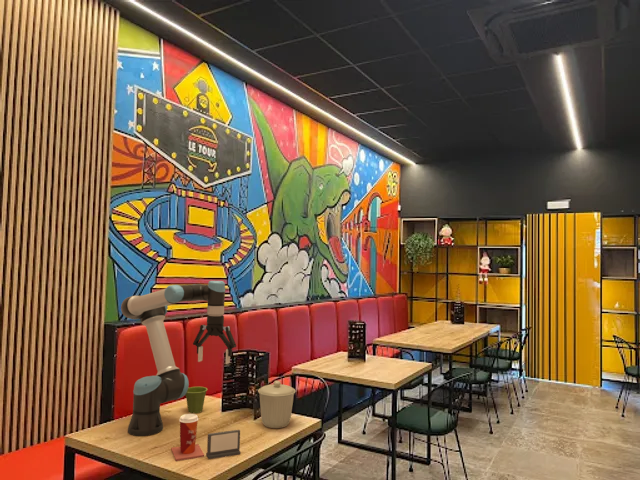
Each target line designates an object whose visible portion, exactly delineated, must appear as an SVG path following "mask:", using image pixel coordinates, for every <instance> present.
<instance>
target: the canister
mask: <svg viewBox="0 0 640 480" xmlns="http://www.w3.org/2000/svg"><path fill="white" fill-rule="evenodd" d="M257 392H258V394H259V405H260V407H259V408H260V417H261V422H262V424H263V426H265V427H266V428H270V429H282V428H284V427H287V426H289V424H290V422H291V416H292V411H293V403H294V395H295V393H296V389H295V388H294V387H292V386H290V385H287V384H282V382H281V381H280V380H274V381H273V383H272V384H266V385H263V386H261V387H260V388H259V389H258V390H257Z"/></svg>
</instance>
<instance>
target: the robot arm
mask: <svg viewBox="0 0 640 480" xmlns="http://www.w3.org/2000/svg"><path fill="white" fill-rule="evenodd" d="M225 298H226V283H225V281H222V280H210V281H208V283H207V284H205V283H204V284H202V283H193V284H172V285H168V286H166V288H164V289H163V288H162V289H160V290H156V291H154V292H151V293H146V294H142V295H131V296H128V297H126V298H125V299H124V300H122V302H121V306H120V311H121V314H122V315H123V316H124V317H125V318H127V319H129V320H130V319H131V320H140V322H141V325H143V326H145V328H146V332H147V333H146V334H147V335H148V339H149V343H150V344H149V345H150V348H151V352H152V354H153V359H154V362H155V367H156V370H157V373H156V374H155V375H149V376H148V375H147V376H144V377H141V378H139V379H137V380H136V381H135V383H134V385H133V391H132V392H133V400H132V415H131V418H130V421H129V423H128V426H127V433H128V434H129V435H131V436H136V437H146V436H147V437H148V436H152V435H156V434H158V433H161V432H162V431H163V430H164V423H163V419H162V416H161V413H160V412H161V410H160V409H161V404H165V403H168V402H171V401H177V400H179V399H181V398H183V397H184V396H186V395H185V394H186V393H187V390H188V388H189V385H190V384H189V383H190V382H189V378H188V376H187V374H185V373H183V372H181V370H180V367H177V366H176V362H175V359H174V356H173V353H172V347H171V345H170V341H169V340H170V339H169V337H168V334H167V330H166V327H165V323H164V320H165V319H166V315H167V313H168V308H169V307H168V306H169V305H174V304H177V303H184V302H197V301H199V302H201V301H202V302H203V301H204V302H207V309H206V311H207V312H206V314H207V316H206V325H205V324H201V325H200V326H199V331H198V333H197V335H196V337H195V339H194V341H193V342H192V345H193V346H195V347H196V354H197V362H198V363H201V362H202V361H203V359H204V358H203V357H204V356H203V354H204V353H203V351H204V346H202V345H203V344H204V343H205V342H206V341H207V339H208V338H209V337H213V336H215V337H219V338H220V339H221V341H222V342H223V343H224V345H225V346H226V349H225V365H228V364H230V363H231V357H232V356H233V349H234V348H236V347H237V343H236V341H235V339H234V336H233V334H232V331H231V326H229V325H228V326H224V324H225V323H224V322H225V316H224V315H225ZM205 331H206V333H205V334H204V332H205ZM203 334H204V335H203ZM202 336H203V337H202Z"/></svg>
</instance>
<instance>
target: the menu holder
mask: <svg viewBox="0 0 640 480" xmlns="http://www.w3.org/2000/svg"><path fill="white" fill-rule="evenodd" d="M206 441H207V443H206V446H207V447H206V455H205V456H206V458H207V459H208V460H211V459H219V458H220V459H221V458H226V457H231V456H237V455H238V456H239V455H240V454H241V448H240V447H241V442H240V441H241V430H240V429H234V430H228V431H227V430H226V431H219V432H213V433H211V432H210V433H207V440H206ZM225 456H226V457H225Z"/></svg>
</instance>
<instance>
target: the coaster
mask: <svg viewBox="0 0 640 480" xmlns="http://www.w3.org/2000/svg"><path fill="white" fill-rule="evenodd" d="M170 450H171V453H172V455H173V458H174V460H175V462H180V461H185V460H193V459H201V458H205V454H204V452H203V449H202V448H201V446H200V445H199V444H198V443H195V451H194V452H193V453H190V454H182V453H181V451H180V446H173V447H171V449H170Z"/></svg>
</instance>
